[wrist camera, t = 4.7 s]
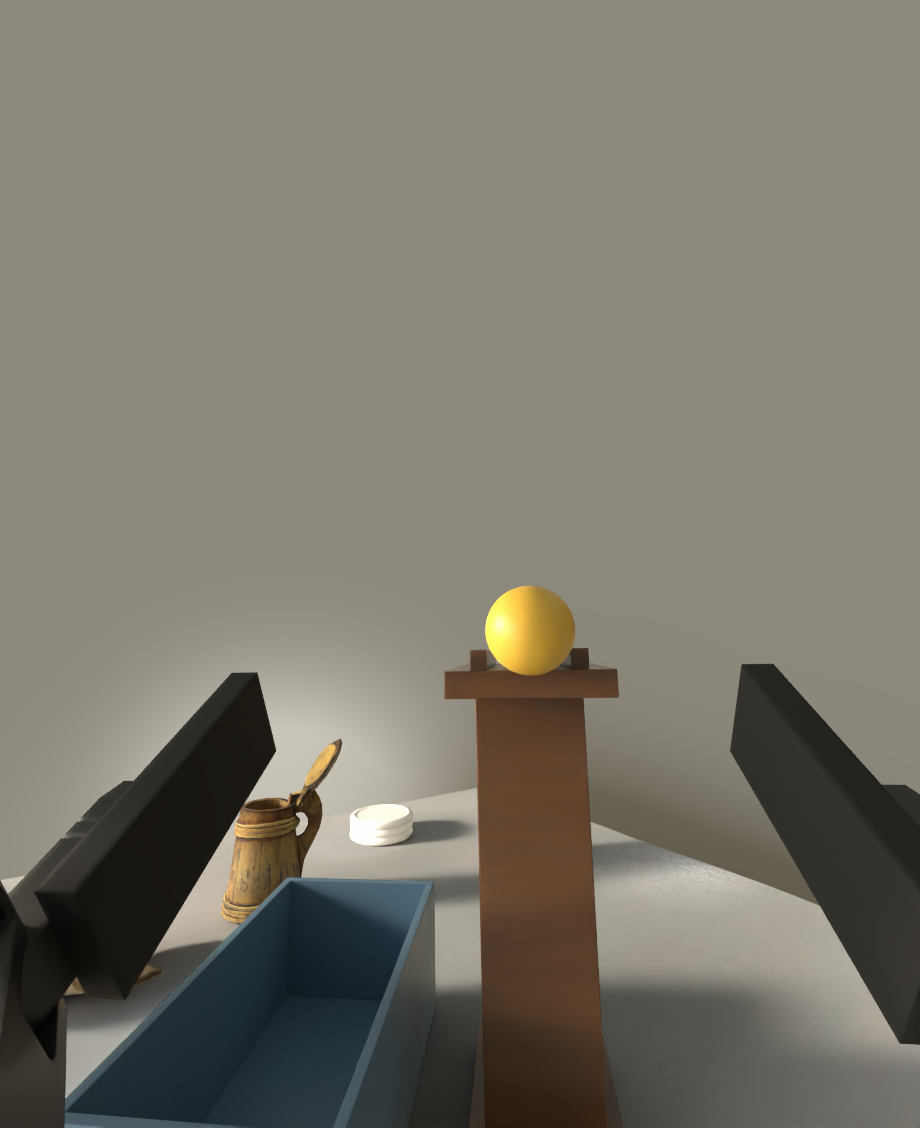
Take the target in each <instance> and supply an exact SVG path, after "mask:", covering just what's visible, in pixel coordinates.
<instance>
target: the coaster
mask: <svg viewBox="0 0 920 1128" xmlns="http://www.w3.org/2000/svg"><path fill="white" fill-rule="evenodd" d="M412 817H413V813H412V811H411V810H410V809H409V808H407V807H405V806H401V805H393V804H381V805H372V806H367V807H363V808H360V809H358V810H356V811H355V812H354V813H353V814H352V815H351V817H350V821H351V824H350V830H351V831H350V837H351V839H352V840H353V841H354V842H356V843H358V844H362V845H368V846H383V845H391V844H395V843H399V842H402V841H404V840H406V839H407V838H409V837H410V836H411V834H412V832H413V828H412V824H413V821H412Z"/></svg>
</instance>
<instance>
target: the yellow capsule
mask: <svg viewBox="0 0 920 1128" xmlns="http://www.w3.org/2000/svg"><path fill="white" fill-rule="evenodd" d="M486 639H487V643H488V646H489V648H490V650H491V652H492V654H493V656H494V657H495V658H496V659H497V660H498V662H499V663H500V664H502V665H503V666H504V667H506V668H507V669H509V670H511V671H513V672H515V673H518V674H522V675H530V676H533V675H541V674H545V673H547V672H550V671H552V670H554V669H555V668H557V667H558V666H559V665H560V664H562V663H563V662H564V660H565V659H566V658H567V657H568V655H569V653H570V652H571V649H572V647H573V644H574V640H575V623H574V619H573V616H572V613H571V611H570V609H569V608H568V606H567V604H566V603H565V602H564V601H563V600H562V599H561V598H560V597H559V596H557V595H556V594H555V593H554V592H551V591H550V590H547V589H545V588H542V587H537V586H523V587H518V588H515V589H512V590H510V591H508V592H506V593H505V594H503V595H502V596H501V597H500V598H499V599H498V600H497V601H496V602H495V604H494V605H493V606H492V608H491V610H490V612H489V614H488V617H487V621H486Z"/></svg>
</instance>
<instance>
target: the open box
mask: <svg viewBox="0 0 920 1128" xmlns="http://www.w3.org/2000/svg"><path fill="white" fill-rule="evenodd" d="M434 1010H435V909H434V881H401V880H365V879H330V878H295V877H287V878H286V879H285V881H283V882H282V883H281V884H280V885H279V886H278V887H277V888H276V889H275V890H274V891H273V892H272V893H271V894H270V895H269V896H268V897H267V898H266V899H265V900H264V901H263V902H262V903H261V904H260V905H259V906H258V907H257V908H256V909H255V910H254V911H253V912H252V913H251V914H250V915H249V916H248V917H247V918H246V919H245V920H244V921H243V922H242V923H241V924H240V925H239V926H238V927H237V928H236V929H235V930H234V931H233V932H232V933H231V934H230V935H229V936H228V937H227V938H226V939H225V940H224V941H223V942H222V943H221V944H220V945H219V946H218V947H217V948H216V949H215V950H214V951H213V952H212V953H211V954H210V955H209V956H208V957H207V958H206V959H205V960H204V961H203V962H202V963H201V964H200V965H199V966H198V967H197V968H196V969H195V970H194V971H193V972H192V973H191V974H190V975H189V976H188V977H187V978H186V979H185V980H184V981H183V982H182V983H181V984H180V985H179V986H178V987H177V988H176V989H175V990H174V991H173V992H172V993H171V994H170V995H169V996H168V997H167V998H166V999H165V1000H164V1001H163V1002H162V1003H161V1004H160V1005H159V1006H158V1007H157V1008H156V1009H155V1010H154V1011H153V1012H152V1013H151V1014H150V1015H149V1016H148V1017H147V1018H146V1019H145V1020H144V1021H143V1022H142V1023H141V1024H140V1025H139V1026H138V1027H137V1028H136V1029H135V1030H134V1031H133V1032H132V1033H131V1034H130V1035H129V1036H128V1037H127V1038H126V1039H125V1040H124V1041H123V1042H122V1043H121V1044H120V1045H119V1046H118V1047H117V1048H116V1049H115V1050H114V1051H113V1052H112V1053H111V1054H110V1055H109V1056H108V1057H107V1058H106V1059H105V1060H104V1061H103V1062H102V1063H101V1064H100V1065H99V1066H98V1067H97V1068H96V1069H95V1070H94V1071H93V1072H92V1073H91V1074H90V1075H89V1076H88V1077H87V1078H86V1079H85V1080H84V1081H83V1082H82V1083H81V1084H80V1085H79V1086H78V1087H77V1088H76V1089H75V1090H74V1091H73V1092H72V1093H71V1094H70V1095H69V1096H68V1097H67V1098H66V1099H65V1128H408V1124H409V1120H410V1115H411V1111H412V1107H413V1102H414V1098H415V1093H416V1089H417V1085H418V1080H419V1076H420V1071H421V1067H422V1063H423V1058H424V1054H425V1050H426V1045H427V1041H428V1036H429V1032H430V1028H431V1023H432V1019H433V1015H434Z"/></svg>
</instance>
